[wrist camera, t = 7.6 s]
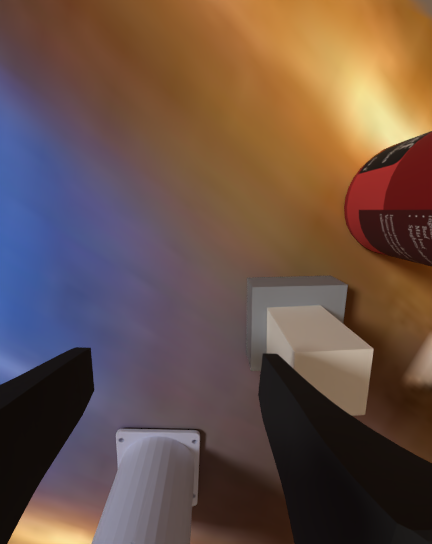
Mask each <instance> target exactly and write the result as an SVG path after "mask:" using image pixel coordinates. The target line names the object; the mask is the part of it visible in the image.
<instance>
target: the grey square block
mask: <svg viewBox="0 0 432 544" xmlns="http://www.w3.org/2000/svg"><path fill="white" fill-rule="evenodd" d="M347 287H348V285H347V284H345V283H343V282H341V281H340V280H338V279H336V278H334V277H332V276H299V277H258V278H247V334H246V354H247V358H248V361H249V365H250V369H251V371H261V365H262V356H263V353H267V308H269V307H292V306H314V305H321V306H322V307H323V308H324V309H326V310H327V311H328V312H329V313H331V314H332V315H333V316H334V317H335V318H337V319H338V320H339V321H340V322H342V323H343V320H344V312H345V304H346V295H347Z"/></svg>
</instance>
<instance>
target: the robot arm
mask: <svg viewBox="0 0 432 544" xmlns="http://www.w3.org/2000/svg"><path fill="white" fill-rule="evenodd" d="M93 392H94V382H93V370H92V358H91V348H78V347H76V348H73V349H71V350H69V351H66V352H64V353H62V354H60V355H58V356H56V357H55V358H53V359H51V360H49V361H47V362H45V363H43V364H41V365H39V366H37V367H35V368H33V369H31V370H30V371H28V372H26V373H24V374H22V375H20V376H18V377H16V378H14V379H12V380H10V381H8V382H6V383H3V384H1V385H0V544H7V543H8V541H9V539H10V537H11V535H12V533H13V531H14V529H15V528H16V526H17V524H18V522H19V520H20V518H21V516H22V514H23V512H24V511H25V509H26V507H27V505H28V503H29V501H30V499H31V497H32V495H33V494H34V492H35V490H36V488H37V487H38V485H39V483H40V482H41V480H42V478H43V477H44V475H45V474H46V472H47V470H48V469H49V467H50V466H51V464H52V463H53V461H54V459H55V458H56V456H57V455H58V453H59V452H60V450H61V448H62V447H63V445H64V444H65V442H66V441H67V439H68V437H69V436H70V434H71V433H72V431H73V429H74V428H75V426H76V425H77V423H78V421H79V420H80V418H81V416H82V415H83V413H84V411H85V409H86V407H87V405H88V403H89V400H90V398H91V396H92V394H93ZM258 395H259V401H260V407H261V413H262V418H263V422H264V425H265V429H266V432H267V436H268V439H269V443H270V446H271V449H272V453H273V456H274V459H275V463H276V466H277V469H278V473H279V476H280V480H281V483H282V487H283V491H284V495H285V499H286V504H287V509H288V514H289V518H290V523H291V528H292V533H293V538H294V543H295V544H432V463H430V462H428V461H426V460H424V459H422V458H420V457H418V456H417V455H415V454H413V453H411V452H409V451H408V450H406V449H404V448H402V447H400V446H399V445H397V444H395V443H394V442H392V441H390V440H389V439H387V438H385V437H384V436H382V435H380V434H379V433H377V432H375V431H374V430H372V429H371V428H369V427H367V426H366V425H364V424H363V423H361V422H360V421H358V420H357V419H356V418H354V417H353V416H351V415H350V414H348V413H347V412H345V411H344V410H343V409H341V408H340V407H339V406H337V405H336V404H335V403H333V402H332V401H331V400H329V399H328V398H327V397H326V396H324V395H323V394H322V393H321V392H319V391H318V390H317V389H316V388H315V387H313V386H312V385H311V384H310V383H309V382H308V381H307V380H305V379H304V378H303V377H302V376H301V375H300V374H299V373H298V372H297V371H295V370H294V369H293V368H292V367H291V366H290V365H289V364H288V363H287V362H286V361H285V360H284V359H283V358H281V357H280V356H279V355H278V354H271V353H263V356H262V365H261V374H260V384H259V393H258ZM121 438H123V439H121ZM116 446H117V461H118V472H117V474H116V477H115V480H114V483H113V485H112V488H111V491H110V494H109V497H108V499H107V502H106V505H105V508H104V510H103V513H102V516H101V519H100V522H99V524H98V527H97V530H96V533H95V536H94V538H93V541H92V544H190V535H191V519H192V506H195V505H197V501H198V476H199V452H200V432H199V431H197V430H163V429H119V430H118V431H117V433H116Z"/></svg>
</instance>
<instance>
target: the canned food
mask: <svg viewBox="0 0 432 544" xmlns="http://www.w3.org/2000/svg"><path fill="white" fill-rule="evenodd" d="M344 211H345V220H346V224H347V226H348V229H349V231H350V233H351V234H352V235H353V237H354V238H355V239H356V240H357V241H358V242H359V243H360V244H362V245H363V246H364V247H365V248H367V249H369V250H371V251H374V252H377V253H381V254H385V255H389V256H393V257H397V258H401V259H405V260H409V261H412V262H416V263H420V264H424V265H428V266H432V131H431V132H428V133H425V134H423V135H420V136H417V137H415V138H412V139H409V140H406V141H404V142H401V143H398V144H396V145H393V146H391V147H389V148H386V149H384V150H382V151H381V152H379V153H378V154H376V155H375V156H374V157H372V158H371V159H370V160H369V161H368V162H367V163H366V164H365V165H364V166H363V167H362V168H361V169H360V170H359V171H358V173H357V174H356V175H355V177H354V178H353V180H352V182H351V184H350V186H349V188H348V192H347V195H346V199H345V206H344Z"/></svg>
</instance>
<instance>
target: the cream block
mask: <svg viewBox="0 0 432 544" xmlns="http://www.w3.org/2000/svg"><path fill="white" fill-rule="evenodd" d="M373 350H374V349H373V348H372V347H371V346H370V345H368V344H367V343H366V342H365V341H364V340H362V339H361V338H360V337H359V336H357V335H356V334H355V333H354V332H353V331H351V330H350V329H349V328H348V327H346V326H345V325H344V324H343V323H342V322H340V321H339V320H338V319H337V318H335V317H334V316H333V315H332V314H331V313H329V312H328V311H327V310H326V309H324V308H323V307H322V306H321V305H314V306H292V307H269V308H267V353H271V354H278V355H279V356H280V357H281V358H283V359H284V360H285V361H286V362H287V363H288V364H289V365H290V366H291V367H292V368H293V369H294V370H295V371H297V372H298V373H299V374H300V375H301V376H302V377H303V378H304V379H305V380H307V381H308V382H309V383H310V384H311V385H312V386H313V387H315V388H316V389H317V390H318V391H319V392H321V393H322V394H323V395H324V396H326V397H327V398H328V399H329V400H331V401H332V402H333V403H335V404H336V405H337V406H339V407H340V408H341V409H343V410H344V411H345V412H347V413H348V414H350V415H351V416H352V415H365V412H366V404H367V396H368V389H369V381H370V373H371V365H372V358H373Z"/></svg>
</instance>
